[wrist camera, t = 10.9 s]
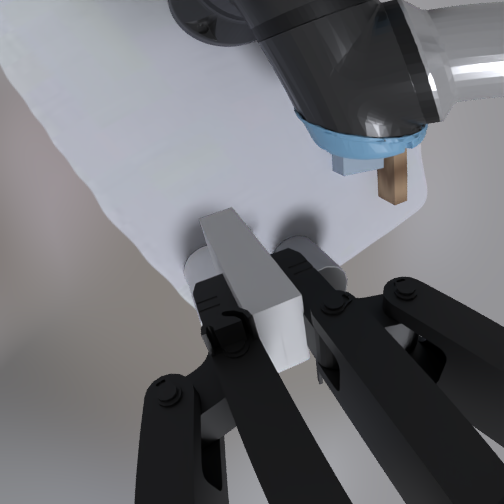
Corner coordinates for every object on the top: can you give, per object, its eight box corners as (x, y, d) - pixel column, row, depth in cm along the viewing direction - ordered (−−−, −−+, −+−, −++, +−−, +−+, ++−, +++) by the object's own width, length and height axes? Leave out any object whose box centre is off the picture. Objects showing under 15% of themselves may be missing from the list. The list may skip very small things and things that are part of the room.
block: (327, 108, 43) (340, 110, 40) (368, 104, 45) (382, 107, 42) (331, 170, 48) (343, 176, 46) (370, 162, 50) (383, 167, 47)
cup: (321, 263, 56) (352, 294, 48) (282, 288, 56) (308, 323, 47) (306, 226, 51) (339, 255, 43) (263, 253, 51) (289, 287, 43)
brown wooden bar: (365, 60, 41) (384, 60, 37) (379, 60, 41) (398, 60, 38) (378, 196, 53) (394, 205, 50) (390, 192, 54) (406, 200, 50)
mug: (244, 223, 47) (275, 263, 38) (263, 266, 52) (294, 310, 42) (173, 261, 47) (186, 311, 37) (199, 300, 51) (217, 352, 41)
